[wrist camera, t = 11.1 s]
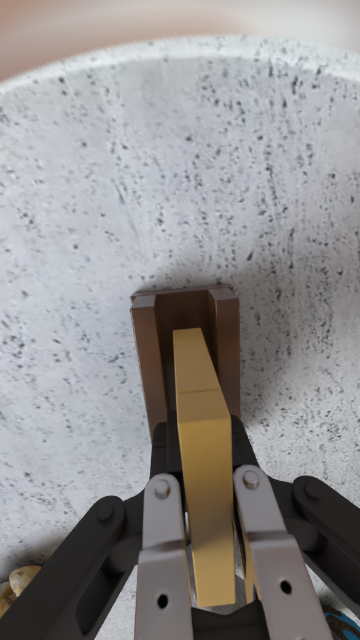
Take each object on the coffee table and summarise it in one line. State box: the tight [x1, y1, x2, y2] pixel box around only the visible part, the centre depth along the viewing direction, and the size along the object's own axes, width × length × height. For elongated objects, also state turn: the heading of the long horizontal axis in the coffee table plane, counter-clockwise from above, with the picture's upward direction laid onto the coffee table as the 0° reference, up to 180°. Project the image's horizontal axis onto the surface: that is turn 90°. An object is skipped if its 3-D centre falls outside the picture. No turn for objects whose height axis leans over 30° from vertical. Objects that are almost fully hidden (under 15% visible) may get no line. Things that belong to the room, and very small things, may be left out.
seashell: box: [0, 565, 42, 618], centre depth 23 cm, size 10×6×15 cm
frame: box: [173, 328, 236, 607], centre depth 12 cm, size 9×2×7 cm, turn 5°
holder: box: [130, 284, 241, 444], centre depth 16 cm, size 12×6×4 cm, turn 5°
